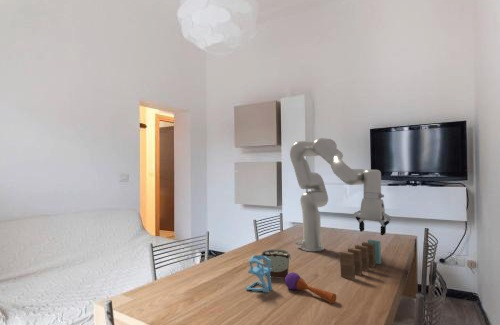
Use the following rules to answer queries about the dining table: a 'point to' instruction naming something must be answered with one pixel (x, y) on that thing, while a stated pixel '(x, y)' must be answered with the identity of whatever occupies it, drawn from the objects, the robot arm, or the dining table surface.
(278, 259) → the food container
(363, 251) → the domino
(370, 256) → the domino
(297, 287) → the purple and orange maraca
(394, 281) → the dining table surface
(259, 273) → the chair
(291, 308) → the dining table surface
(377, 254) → the teal domino
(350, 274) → the domino
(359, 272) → the domino
